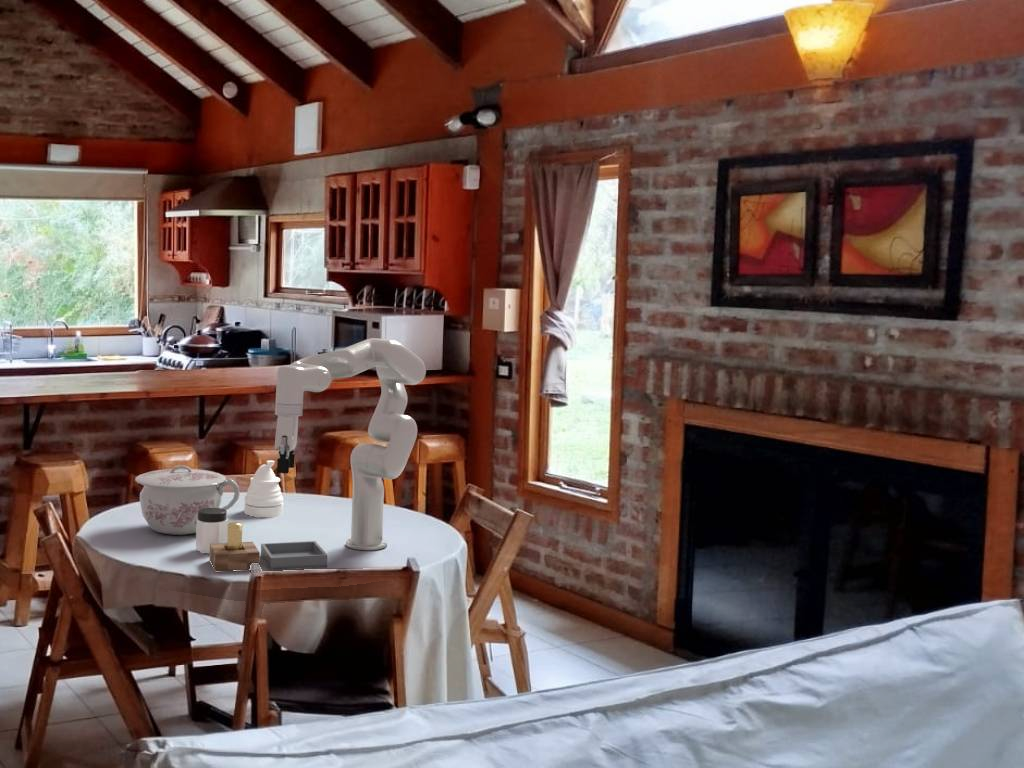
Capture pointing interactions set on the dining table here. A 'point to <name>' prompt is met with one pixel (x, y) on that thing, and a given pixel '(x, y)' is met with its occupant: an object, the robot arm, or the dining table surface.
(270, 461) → the honey pot
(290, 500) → the dining table surface
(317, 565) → the tray
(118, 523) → the dining table surface
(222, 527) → the jar
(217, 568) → the socket block
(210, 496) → the chamber pot
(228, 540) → the brass pin
